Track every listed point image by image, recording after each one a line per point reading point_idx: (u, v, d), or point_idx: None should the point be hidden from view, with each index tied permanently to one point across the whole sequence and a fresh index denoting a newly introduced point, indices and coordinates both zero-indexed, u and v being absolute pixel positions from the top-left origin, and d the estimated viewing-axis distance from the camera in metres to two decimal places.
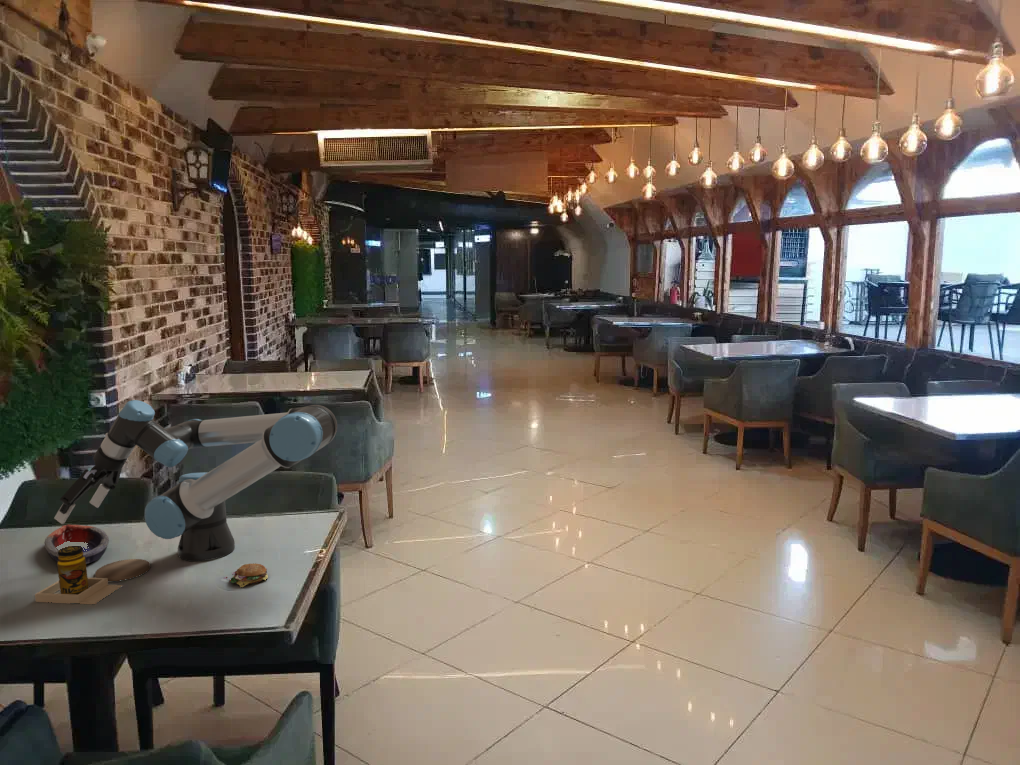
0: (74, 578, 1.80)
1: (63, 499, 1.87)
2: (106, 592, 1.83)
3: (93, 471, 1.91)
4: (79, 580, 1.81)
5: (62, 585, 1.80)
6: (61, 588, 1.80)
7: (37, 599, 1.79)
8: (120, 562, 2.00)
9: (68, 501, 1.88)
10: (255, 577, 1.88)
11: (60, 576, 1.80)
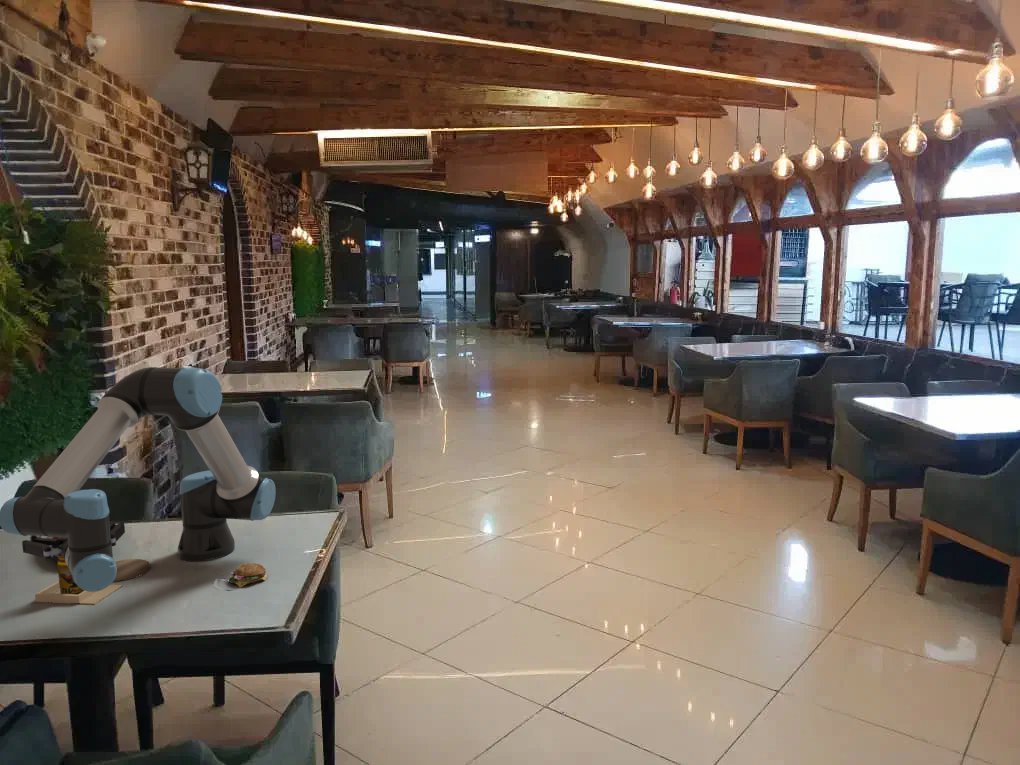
0: None
1: (124, 529, 1.73)
2: (106, 592, 1.83)
3: None
4: None
5: (62, 585, 1.80)
6: (61, 588, 1.80)
7: (37, 599, 1.79)
8: (120, 562, 2.00)
9: (123, 524, 1.72)
10: (254, 577, 1.88)
11: (60, 576, 1.80)
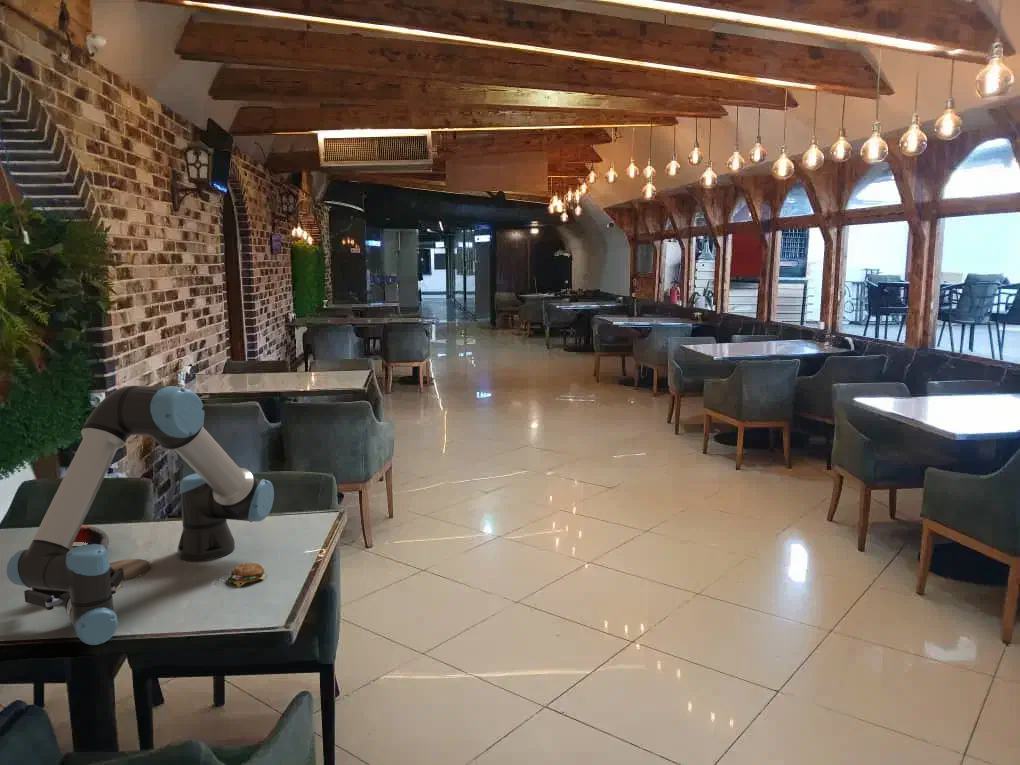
0: None
1: (123, 575, 1.78)
2: None
3: None
4: None
5: None
6: None
7: None
8: (120, 562, 2.00)
9: (122, 571, 1.77)
10: (252, 577, 1.88)
11: None
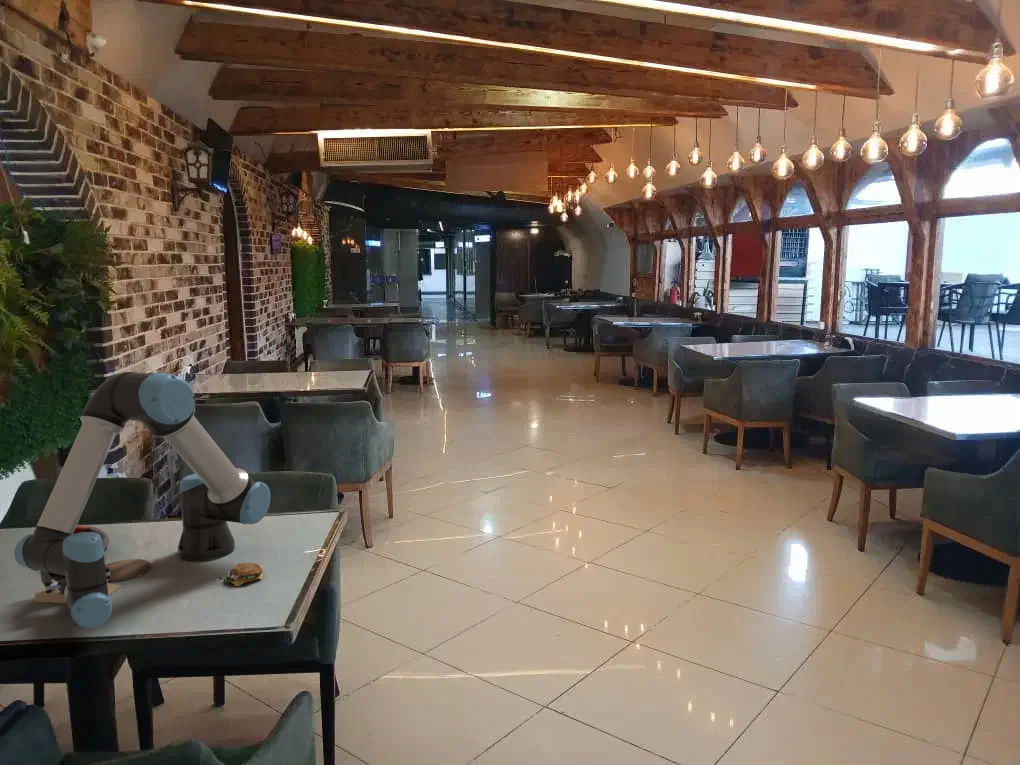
0: None
1: None
2: None
3: None
4: None
5: None
6: None
7: (37, 599, 1.79)
8: (120, 562, 2.00)
9: None
10: (250, 576, 1.88)
11: None
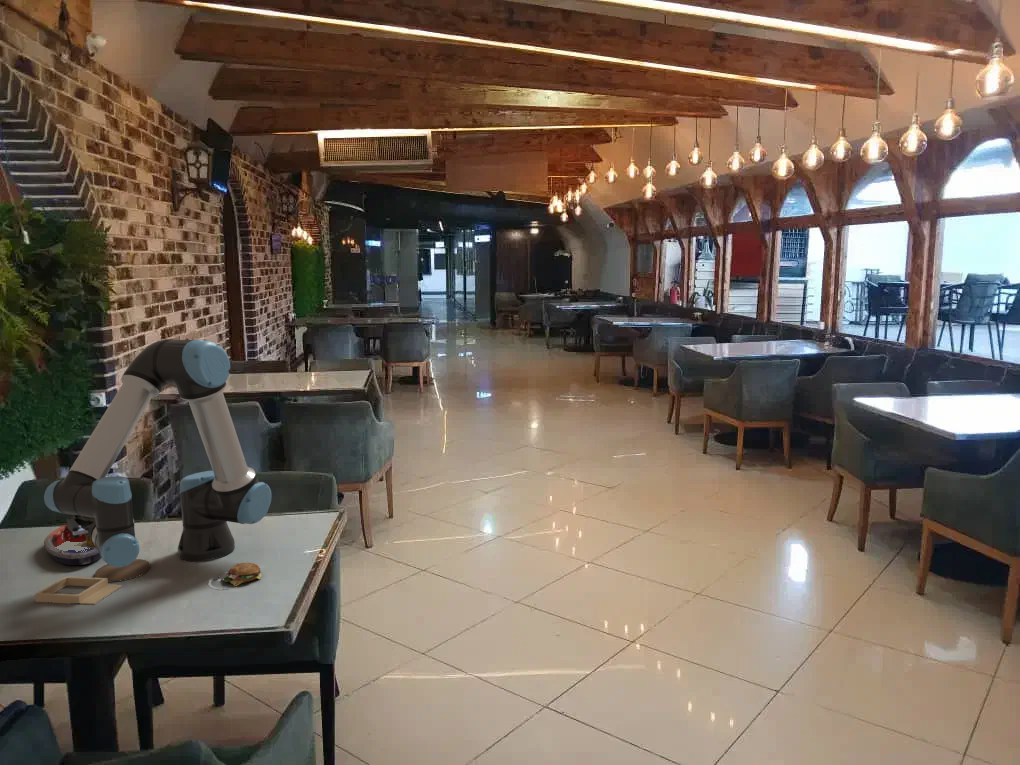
0: None
1: None
2: (106, 592, 1.83)
3: None
4: None
5: None
6: (87, 536, 1.86)
7: (37, 599, 1.79)
8: None
9: None
10: (249, 576, 1.88)
11: None
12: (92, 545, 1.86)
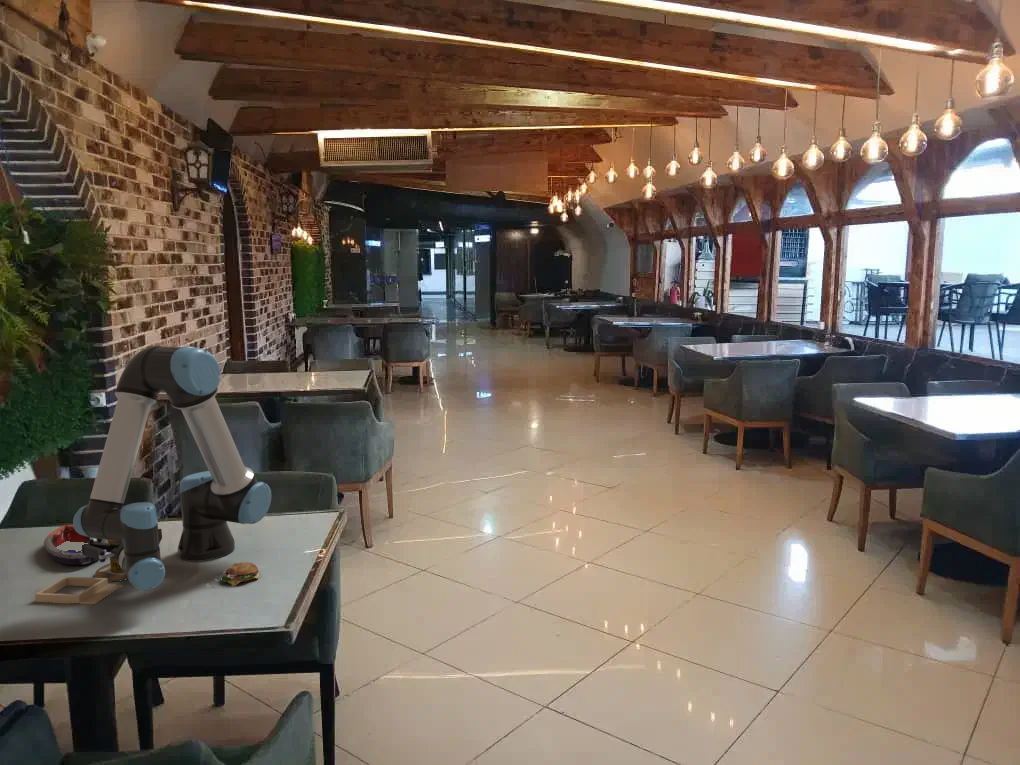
0: None
1: (161, 535, 1.98)
2: (106, 592, 1.83)
3: None
4: None
5: (113, 560, 1.93)
6: (112, 563, 1.93)
7: (37, 599, 1.79)
8: None
9: (160, 531, 1.97)
10: (247, 576, 1.89)
11: None
12: (116, 571, 1.93)
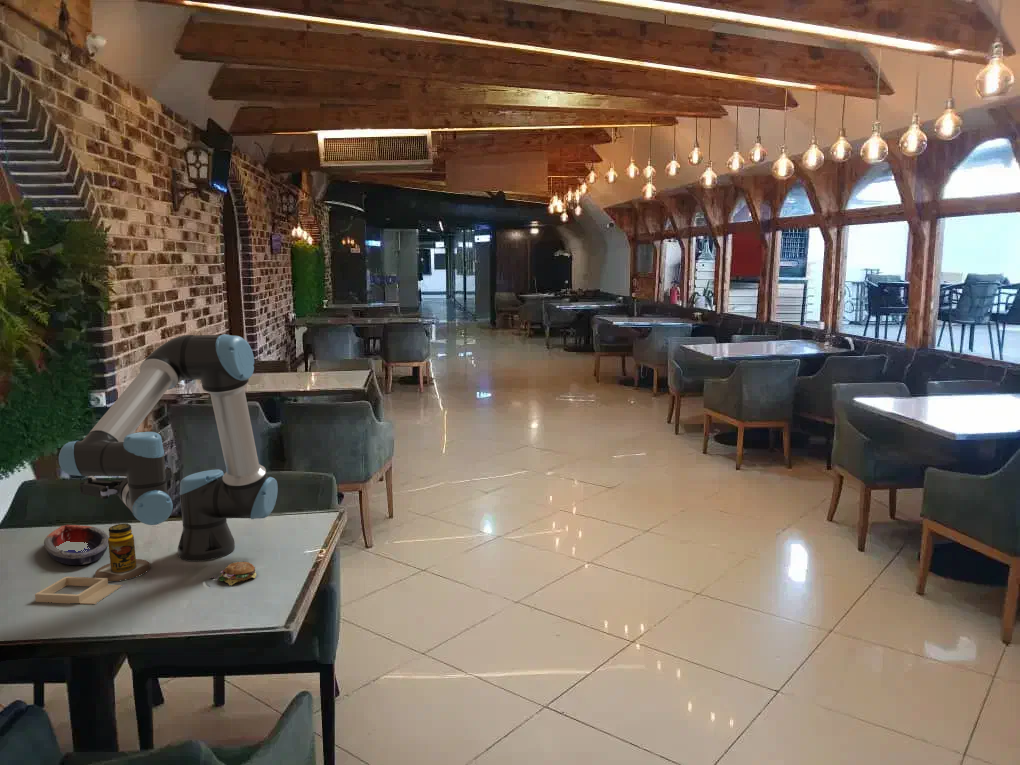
0: (124, 554, 1.93)
1: (171, 475, 1.84)
2: (106, 592, 1.83)
3: None
4: (128, 555, 1.94)
5: (113, 560, 1.93)
6: (112, 563, 1.93)
7: (37, 599, 1.79)
8: None
9: (170, 470, 1.84)
10: (244, 575, 1.89)
11: (111, 552, 1.93)
12: (116, 571, 1.93)
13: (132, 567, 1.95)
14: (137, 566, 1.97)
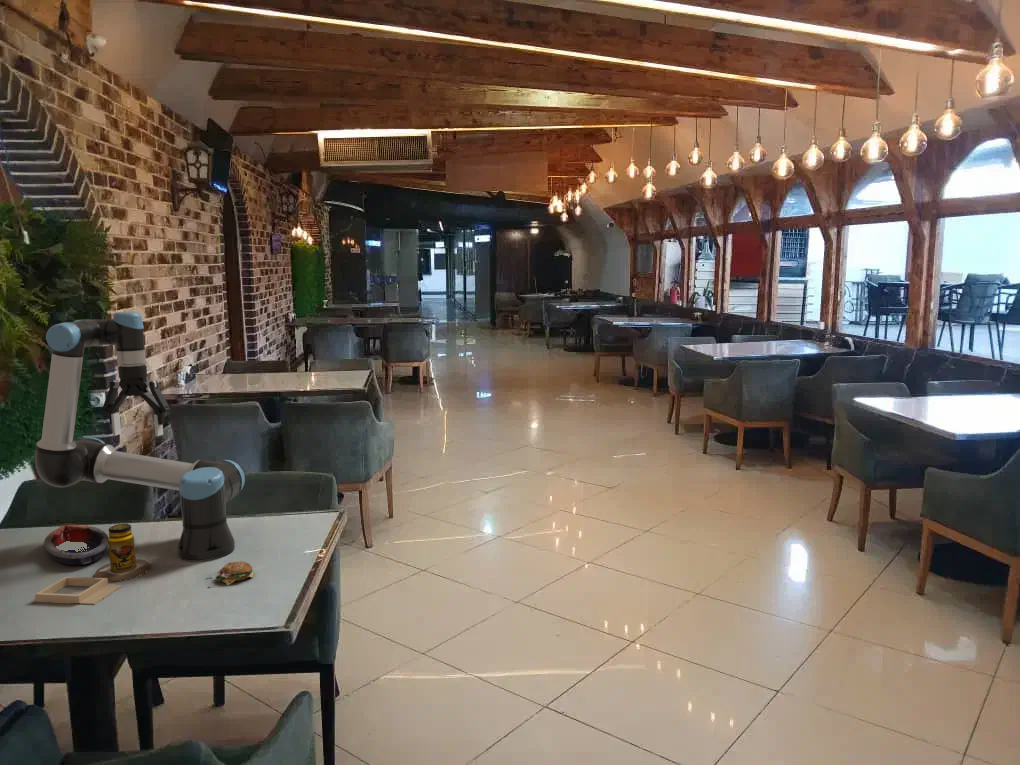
0: (124, 554, 1.93)
1: None
2: (106, 592, 1.83)
3: (118, 381, 2.17)
4: (128, 555, 1.94)
5: (113, 560, 1.93)
6: (112, 563, 1.93)
7: (37, 599, 1.79)
8: None
9: None
10: (241, 575, 1.89)
11: (111, 552, 1.93)
12: (116, 571, 1.93)
13: (132, 567, 1.95)
14: (137, 566, 1.97)
